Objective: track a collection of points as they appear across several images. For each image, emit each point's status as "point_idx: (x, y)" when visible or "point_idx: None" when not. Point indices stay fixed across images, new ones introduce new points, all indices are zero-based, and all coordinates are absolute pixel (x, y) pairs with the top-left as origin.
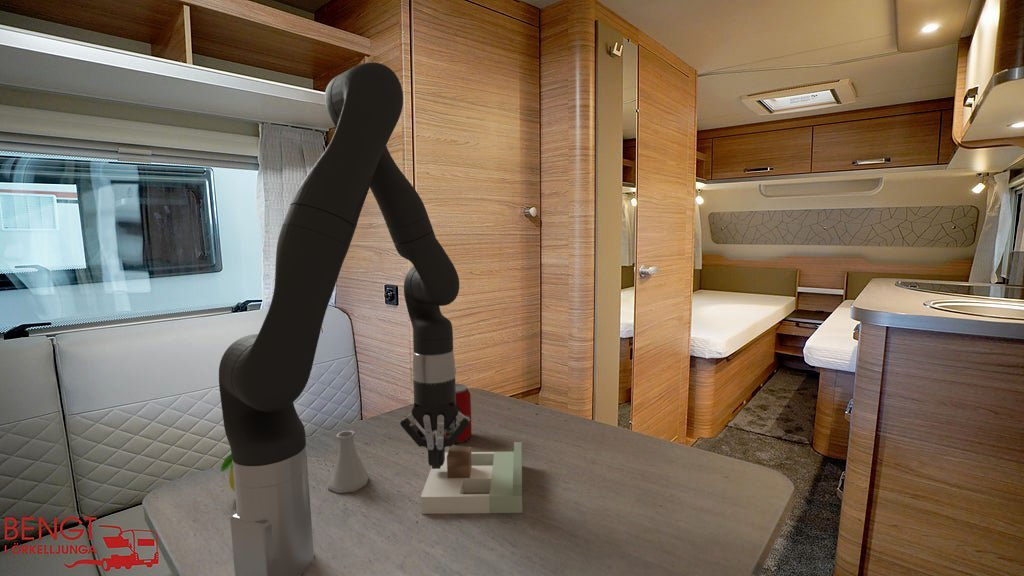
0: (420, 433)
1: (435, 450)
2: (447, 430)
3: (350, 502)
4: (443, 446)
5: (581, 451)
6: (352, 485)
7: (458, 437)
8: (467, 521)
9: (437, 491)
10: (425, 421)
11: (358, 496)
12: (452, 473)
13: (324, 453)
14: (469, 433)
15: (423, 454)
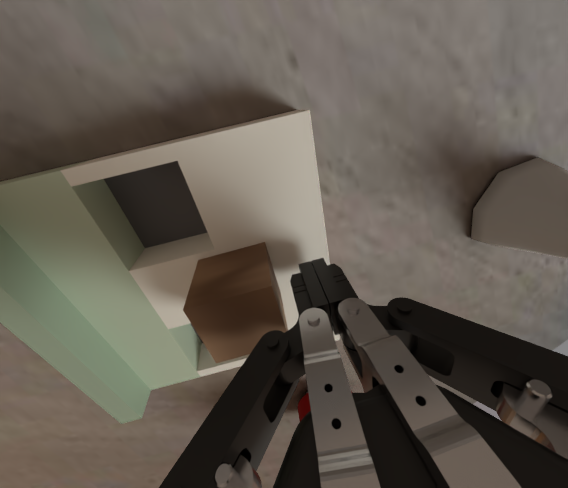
0: (426, 361)
1: (328, 303)
2: None
3: (501, 126)
4: (300, 327)
5: (52, 428)
6: (517, 178)
7: None
8: (137, 97)
9: (264, 161)
10: (472, 449)
11: (484, 158)
12: (249, 253)
13: (564, 293)
14: (299, 411)
15: None
